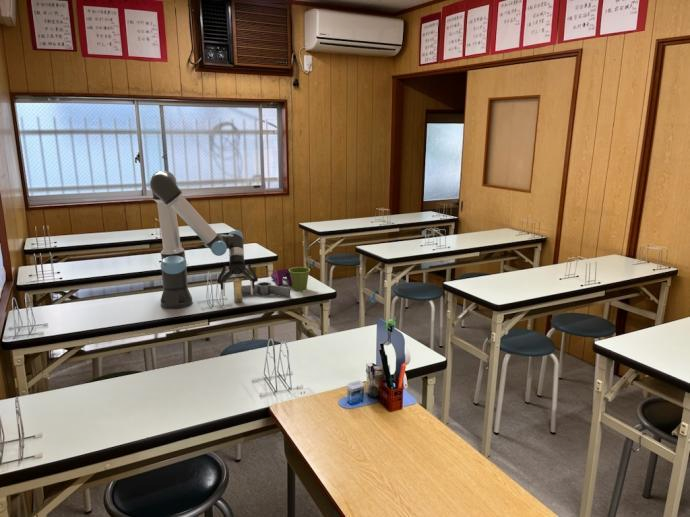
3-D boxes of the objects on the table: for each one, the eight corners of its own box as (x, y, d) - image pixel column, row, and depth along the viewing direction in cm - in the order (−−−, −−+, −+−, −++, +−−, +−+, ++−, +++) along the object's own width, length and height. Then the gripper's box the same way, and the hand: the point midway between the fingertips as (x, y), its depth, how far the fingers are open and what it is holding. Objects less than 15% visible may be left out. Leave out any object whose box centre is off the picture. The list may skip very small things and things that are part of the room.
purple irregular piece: (271, 290, 291) (279, 285, 275) (269, 276, 293) (277, 270, 276) (287, 288, 295) (295, 283, 279) (284, 274, 296) (293, 268, 280)
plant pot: (314, 287, 277) (314, 268, 274) (303, 294, 267) (303, 273, 264) (296, 284, 282) (295, 265, 279) (284, 290, 272) (284, 271, 269)
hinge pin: (233, 303, 252) (232, 280, 249) (235, 300, 256) (234, 278, 253) (241, 303, 252) (240, 280, 249) (243, 300, 256) (242, 278, 252)
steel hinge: (233, 295, 263) (233, 286, 262) (238, 290, 272) (238, 281, 271) (289, 297, 261) (289, 288, 260) (292, 291, 271) (292, 282, 269)
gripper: (260, 260, 266) (263, 296, 256) (212, 262, 261) (212, 299, 251) (260, 253, 260) (263, 289, 250) (211, 255, 255) (211, 292, 245)
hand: (238, 294), depth 250 cm, fingers open, 13 cm apart
